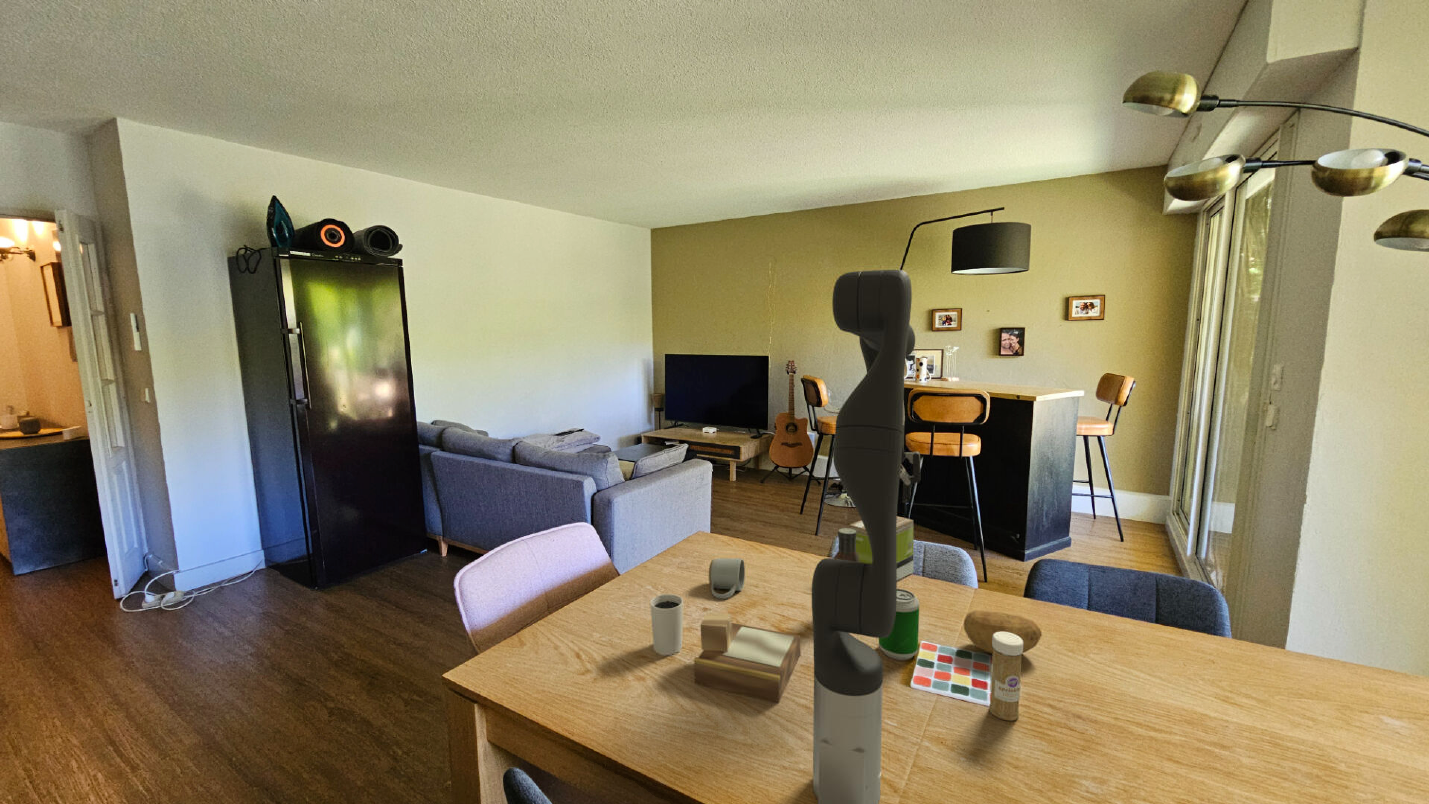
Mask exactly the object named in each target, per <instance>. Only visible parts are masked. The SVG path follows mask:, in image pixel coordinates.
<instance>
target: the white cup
mask: <svg viewBox="0 0 1429 804" xmlns="http://www.w3.org/2000/svg"><path fill="white" fill-rule="evenodd" d="M649 603H650V605H649V606H650V615H651V616H650V617H651V618H650V619H651V629H652V642H653V643H652V644H653V651H654V650H655V651H656V652H657V653H659V654H658V655H660V654H661V655H660V656H666V655H669V656H673V655H672V654H674V655H675V653H676V654H678V653H680V651H682V649H681V648H683V626H684V625H683V621H684V619H683V618H684V600H683V598H682V596H679V595H677V594H673V593H672V594H671V593H666V594H663V593H662V594H659V595H656V596H654V597H653V598H651V600H650V602H649ZM655 651H654V652H655ZM656 652H655V653H656ZM677 652H678V653H677ZM657 653H656V654H657Z"/></svg>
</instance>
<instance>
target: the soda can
mask: <svg viewBox="0 0 1429 804" xmlns="http://www.w3.org/2000/svg"><path fill="white" fill-rule="evenodd" d="M919 623H920V601H919V599H918V598H917V597H916V595H915V594H914V593H913V592H912V591H910V590H907V589H904V588H897V603H896V616H895V622H894V626H893V629H892V632H891V634H890V635H889V636H888V637H886V638H878V647H879V648H880V650H881V651H883V653H884V655H886V656H887V657H889V658H891V659H893V660H898V661H906V660H910V659H912V658H913V657H914V656H916V655H917V653H918V652H919V627H920V625H919Z"/></svg>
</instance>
